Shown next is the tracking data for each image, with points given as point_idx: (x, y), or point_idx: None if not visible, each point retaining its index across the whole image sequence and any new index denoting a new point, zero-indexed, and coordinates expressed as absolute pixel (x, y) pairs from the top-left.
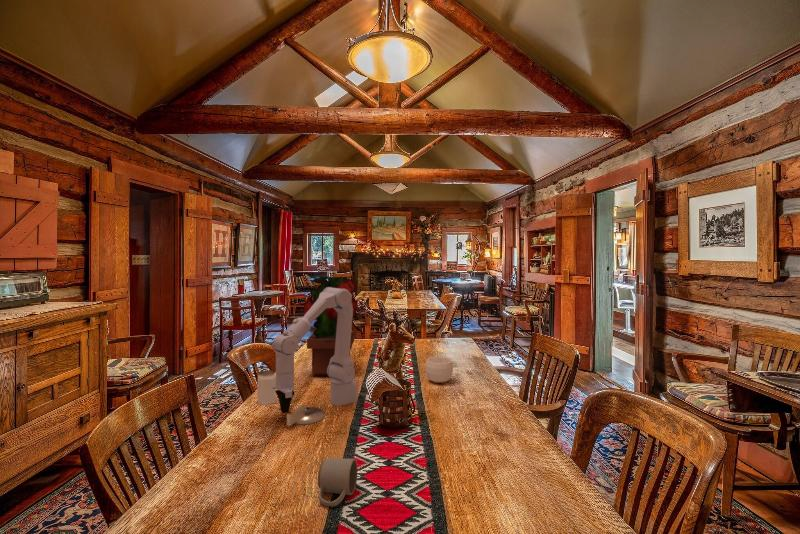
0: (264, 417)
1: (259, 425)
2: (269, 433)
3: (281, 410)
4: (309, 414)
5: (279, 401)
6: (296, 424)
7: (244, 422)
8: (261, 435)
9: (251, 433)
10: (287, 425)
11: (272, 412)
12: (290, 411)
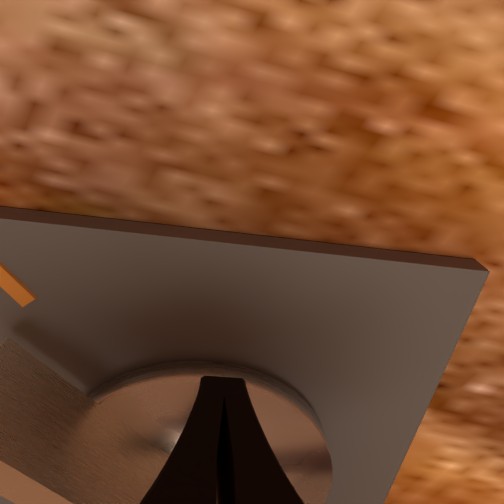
0: (451, 226)
1: (313, 145)
2: (93, 180)
3: (198, 394)
4: None
5: (234, 473)
6: (93, 392)
7: (480, 24)
8: (77, 103)
9: (167, 20)
10: (2, 342)
11: (497, 303)
12: (302, 422)
